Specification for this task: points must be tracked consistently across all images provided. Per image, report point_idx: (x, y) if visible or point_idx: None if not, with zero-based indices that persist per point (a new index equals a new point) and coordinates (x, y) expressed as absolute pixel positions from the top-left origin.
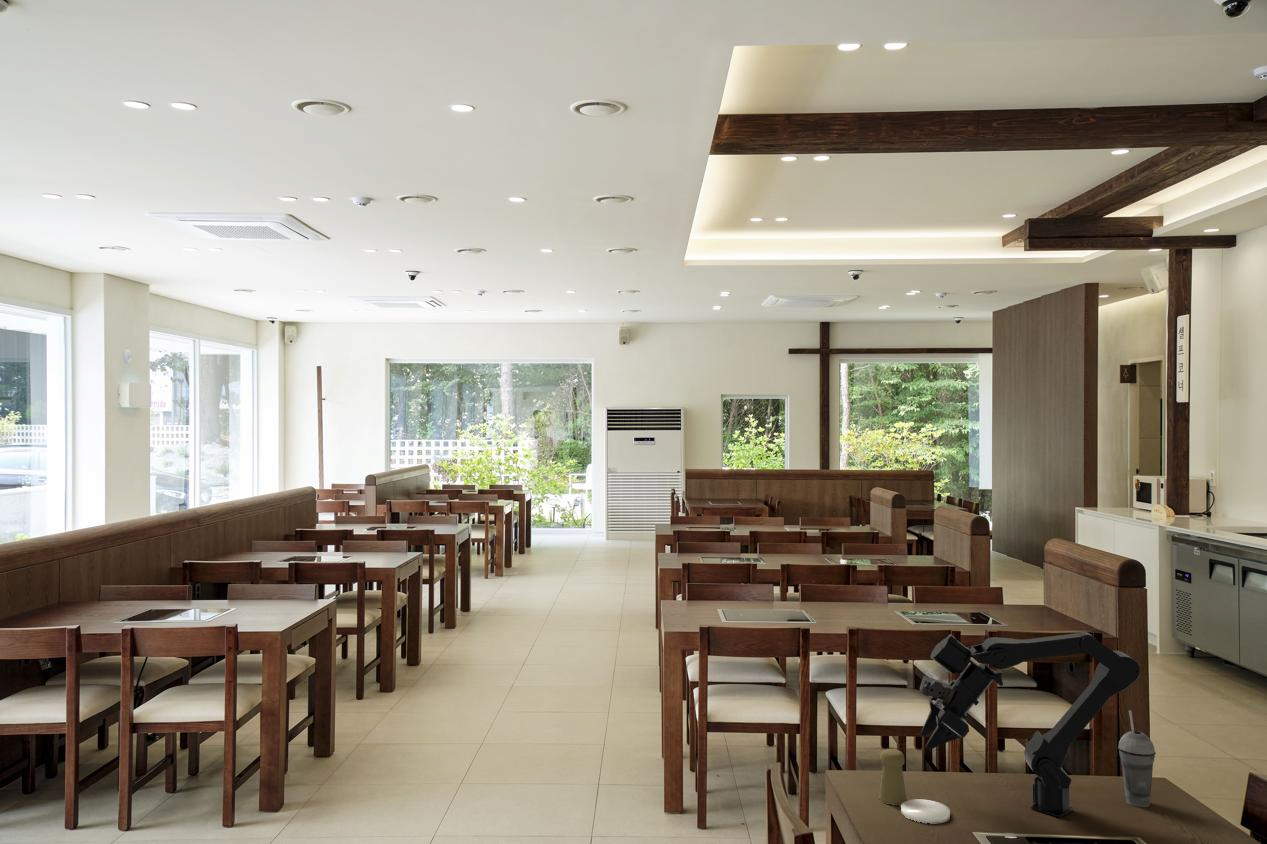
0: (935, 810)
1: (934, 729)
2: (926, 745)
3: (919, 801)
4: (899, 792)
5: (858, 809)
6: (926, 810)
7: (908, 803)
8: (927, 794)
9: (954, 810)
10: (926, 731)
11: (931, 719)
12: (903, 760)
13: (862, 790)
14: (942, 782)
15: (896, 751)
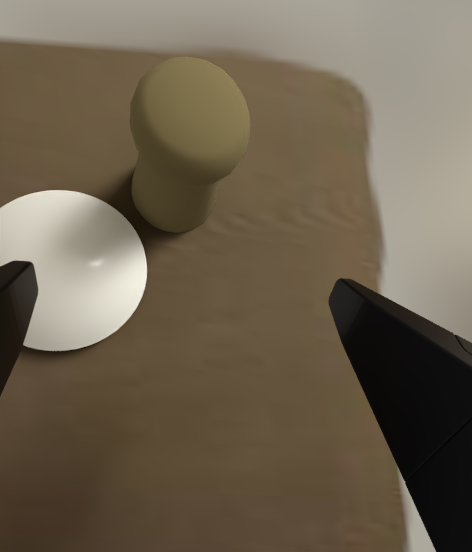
0: (46, 301)
1: (362, 377)
2: (8, 263)
3: (126, 260)
4: (138, 192)
5: (84, 69)
6: (41, 270)
7: (103, 221)
8: (234, 303)
9: (113, 368)
10: (346, 315)
11: (431, 376)
12: (160, 171)
13: None
14: (328, 359)
15: (186, 123)
